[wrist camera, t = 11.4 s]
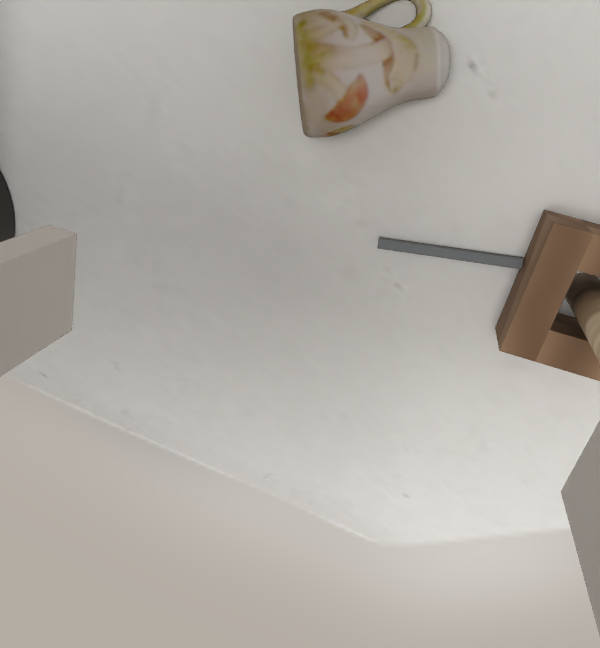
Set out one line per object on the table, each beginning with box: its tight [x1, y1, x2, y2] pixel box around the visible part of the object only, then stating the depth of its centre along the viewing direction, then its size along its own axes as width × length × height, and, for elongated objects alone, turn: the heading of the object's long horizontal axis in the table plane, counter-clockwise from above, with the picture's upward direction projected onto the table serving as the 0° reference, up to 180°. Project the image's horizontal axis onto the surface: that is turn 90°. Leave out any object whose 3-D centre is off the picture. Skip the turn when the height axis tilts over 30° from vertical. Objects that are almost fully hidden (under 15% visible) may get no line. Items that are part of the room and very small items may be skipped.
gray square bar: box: [378, 237, 524, 269], centre depth 40 cm, size 10×1×1 cm, turn 85°
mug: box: [293, 0, 450, 137], centre depth 35 cm, size 8×10×10 cm
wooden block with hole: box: [495, 210, 600, 381], centre depth 37 cm, size 9×9×4 cm
